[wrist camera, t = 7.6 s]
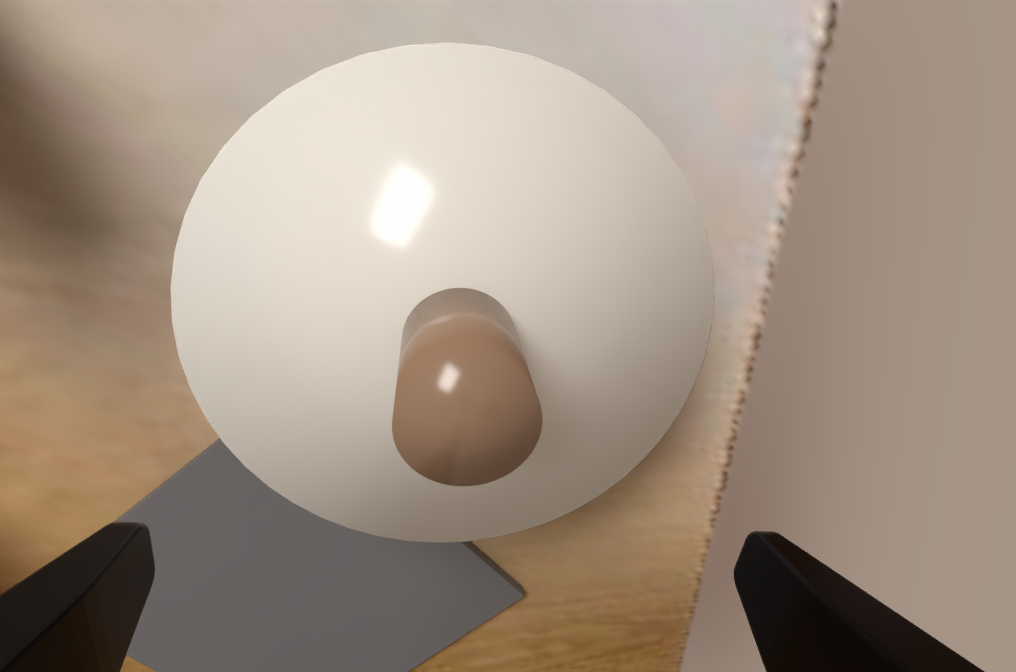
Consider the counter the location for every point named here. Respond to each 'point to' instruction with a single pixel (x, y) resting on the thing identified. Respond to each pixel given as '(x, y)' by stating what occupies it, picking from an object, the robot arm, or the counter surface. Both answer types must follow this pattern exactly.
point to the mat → (295, 583)
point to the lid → (442, 292)
